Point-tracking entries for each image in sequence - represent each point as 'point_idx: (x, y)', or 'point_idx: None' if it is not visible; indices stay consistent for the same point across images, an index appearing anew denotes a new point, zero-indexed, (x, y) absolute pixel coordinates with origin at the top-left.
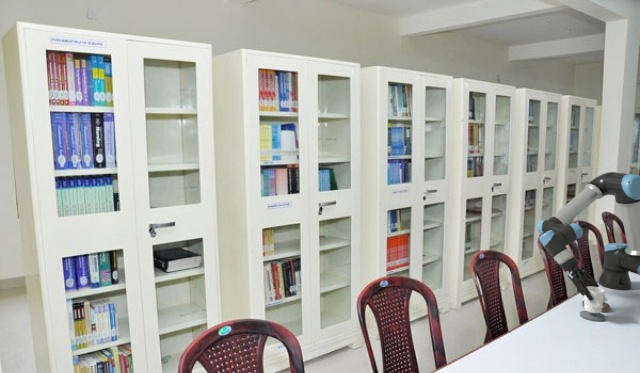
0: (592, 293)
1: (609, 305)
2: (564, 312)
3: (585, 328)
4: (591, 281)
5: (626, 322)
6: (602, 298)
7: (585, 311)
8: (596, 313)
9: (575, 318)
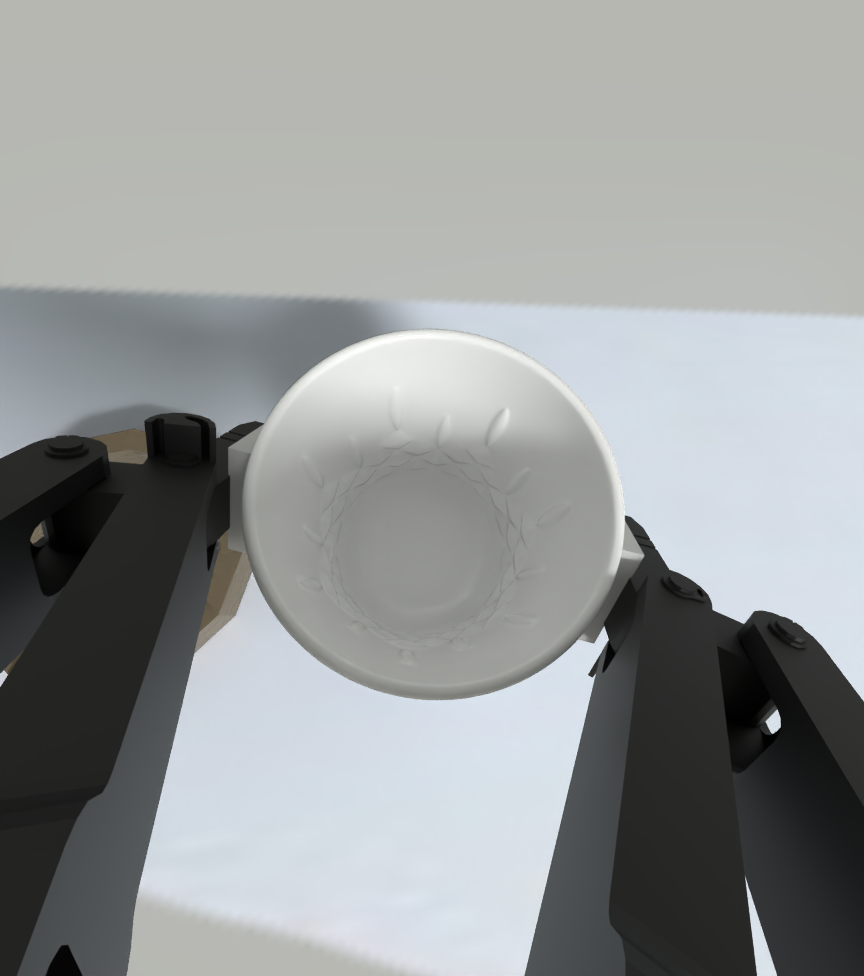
0: (604, 519)
1: (110, 434)
2: (445, 825)
3: (709, 588)
4: (143, 557)
5: None
6: (481, 410)
7: None
8: None
9: (543, 694)
